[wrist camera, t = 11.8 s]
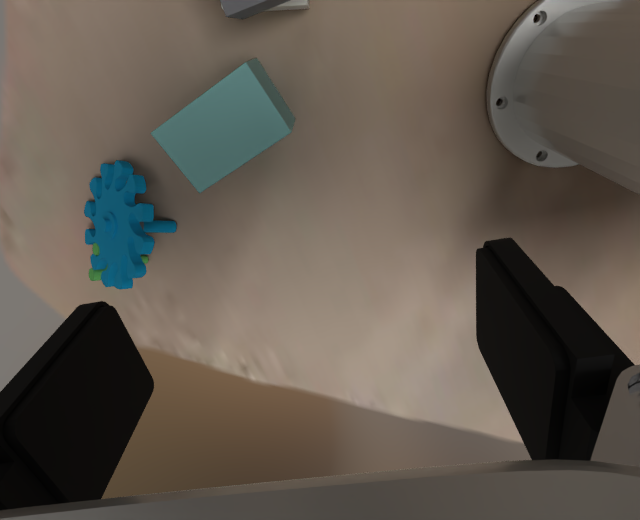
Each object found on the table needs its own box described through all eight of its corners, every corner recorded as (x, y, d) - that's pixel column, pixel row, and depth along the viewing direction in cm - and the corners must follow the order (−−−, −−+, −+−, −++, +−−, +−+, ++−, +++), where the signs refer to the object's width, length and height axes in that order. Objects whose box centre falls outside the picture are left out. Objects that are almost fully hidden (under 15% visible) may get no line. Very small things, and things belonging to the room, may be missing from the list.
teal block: (257, 57, 30) (245, 62, 25) (295, 118, 32) (291, 132, 27) (174, 119, 32) (150, 133, 27) (215, 172, 34) (199, 193, 29)
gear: (102, 130, 30) (151, 231, 27) (174, 144, 35) (224, 232, 31) (63, 229, 36) (98, 323, 32) (129, 230, 40) (167, 313, 37)
